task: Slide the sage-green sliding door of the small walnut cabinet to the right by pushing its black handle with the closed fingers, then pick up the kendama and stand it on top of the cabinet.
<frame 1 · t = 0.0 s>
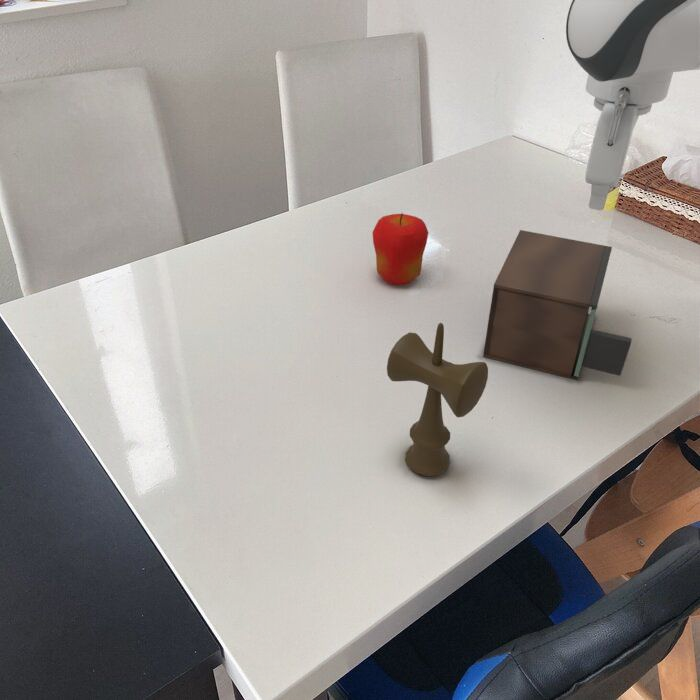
hand: (601, 191, 85), 22 cm above the table, tool pointing down, fingers open, 8 cm apart
apple: (398, 278, 111), on the table
door: (608, 331, 89), point 6 cm above the table, slide at 0.0 cm
kendama: (426, 463, 79), on the table
cabinet: (537, 335, 99), on the table
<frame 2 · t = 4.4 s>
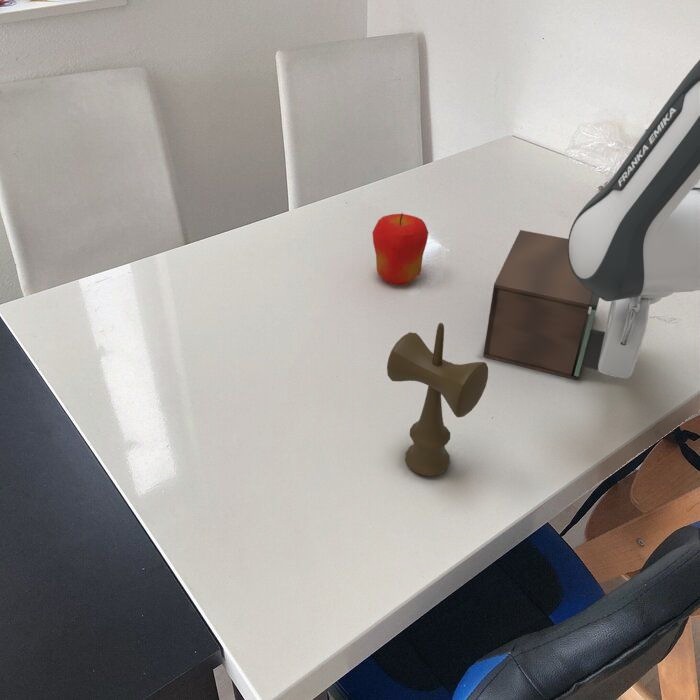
hand: (611, 360, 86), 5 cm above the table, tool pointing down, fingers closed
door: (608, 331, 89), point 6 cm above the table, slide at 0.1 cm, touching gripper
everything else where it was.
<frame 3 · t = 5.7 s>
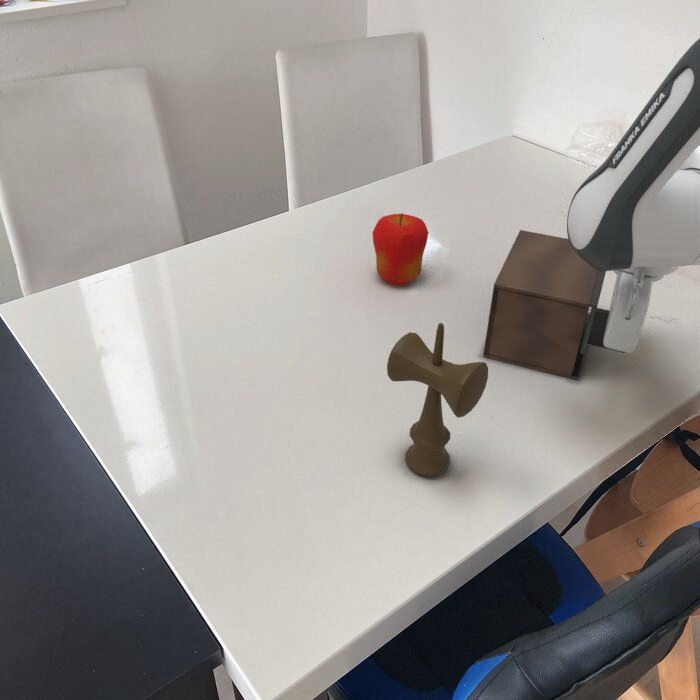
hand: (616, 338, 89), 5 cm above the table, tool pointing down, fingers closed
door: (612, 310, 93), point 6 cm above the table, slide at 5.3 cm, touching gripper
everything else where it was.
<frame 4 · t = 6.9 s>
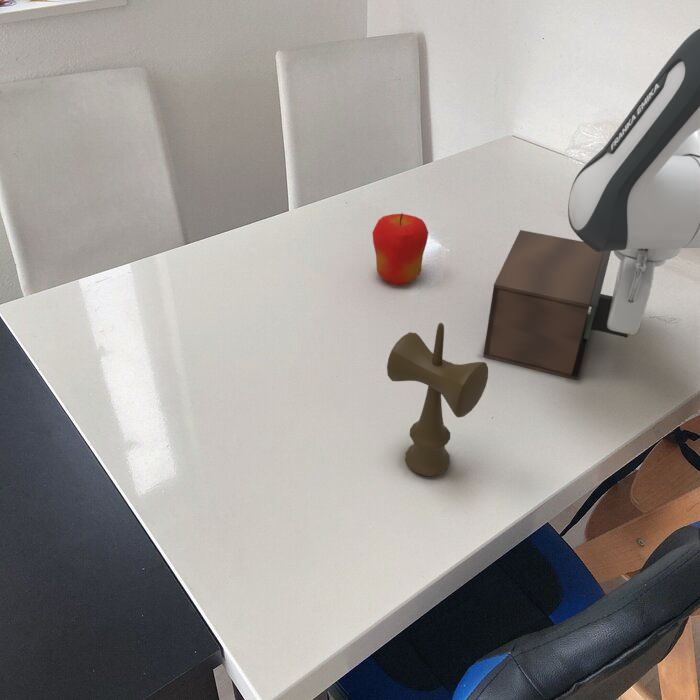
hand: (619, 322, 92), 5 cm above the table, tool pointing down, fingers closed
door: (615, 296, 96), point 6 cm above the table, slide at 9.0 cm, touching gripper
everything else where it was.
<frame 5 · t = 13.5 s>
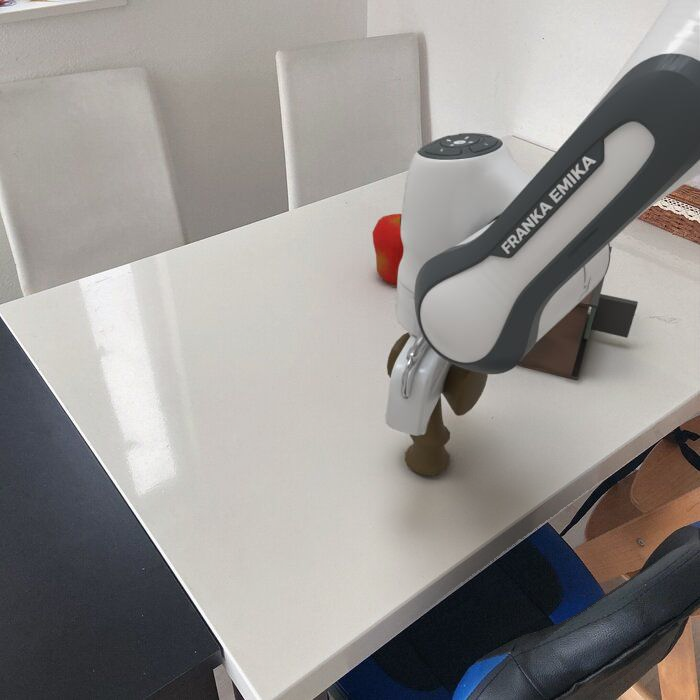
hand: (429, 406, 74), 9 cm above the table, tool pointing down, fingers closed on kendama, 6 cm apart
door: (615, 296, 96), point 6 cm above the table, slide at 9.0 cm
kendama: (426, 463, 79), on the table, touching arm, gripper
everything else where it was.
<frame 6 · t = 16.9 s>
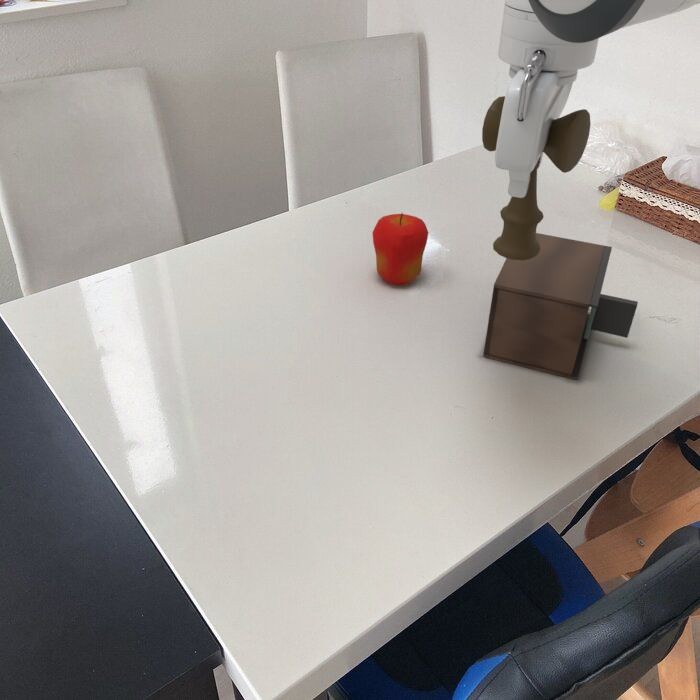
hand: (524, 180, 71), 29 cm above the table, tool pointing down, fingers closed on kendama, 6 cm apart
kendama: (515, 254, 76), point 20 cm above the table, touching arm, gripper
everything else where it was.
when the fingers open (21 cm above the table, at t = 20.5 s): kendama stays where it is, resting on cabinet.
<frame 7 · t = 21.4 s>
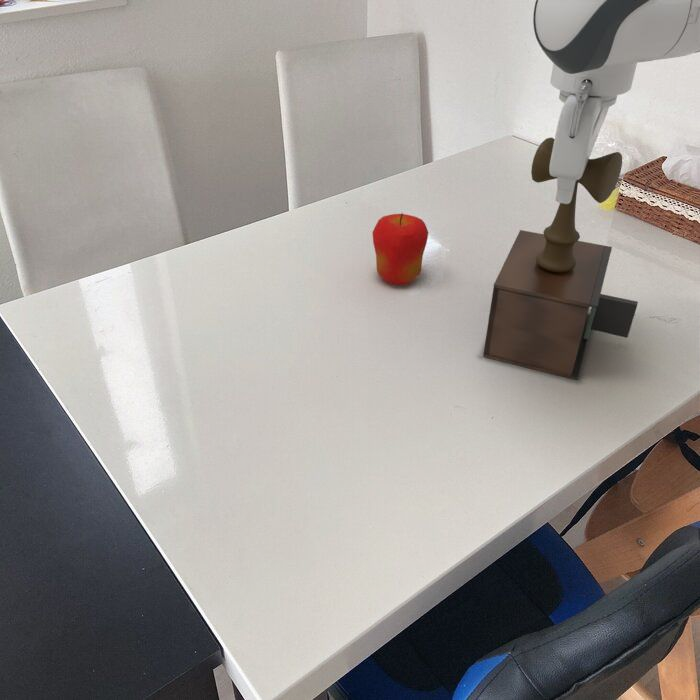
hand: (569, 185, 84), 23 cm above the table, tool pointing down, fingers open, 8 cm apart
kendama: (554, 267, 91), point 12 cm above the table, touching cabinet
everything else where it was.
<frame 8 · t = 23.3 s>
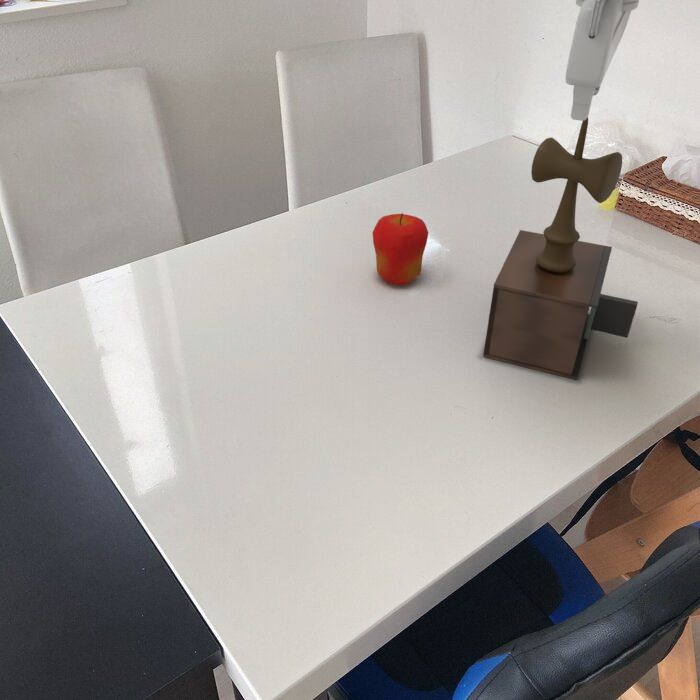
hand: (585, 105, 78), 33 cm above the table, tool pointing down, fingers open, 8 cm apart
nothing on the table moved.
at the end: door slide at 9.0 cm; kendama inside the target area on the cabinet (0.6 cm from its centre), point 11.8 cm above the cabinet's base; kendama tilted 0° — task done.
